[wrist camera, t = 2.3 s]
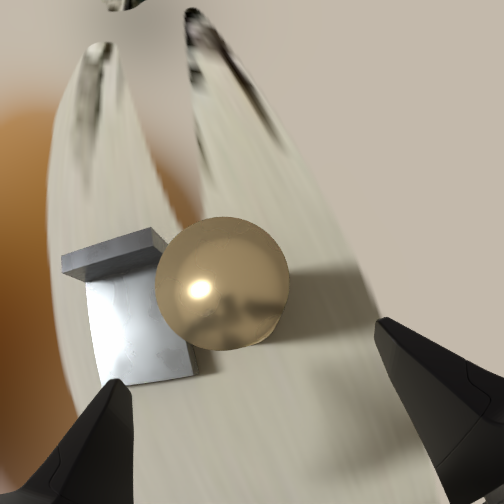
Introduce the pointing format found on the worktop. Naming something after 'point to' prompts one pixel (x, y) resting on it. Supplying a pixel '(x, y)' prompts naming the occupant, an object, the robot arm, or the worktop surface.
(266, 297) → the ball
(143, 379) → the press bed
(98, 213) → the worktop surface
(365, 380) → the worktop surface
